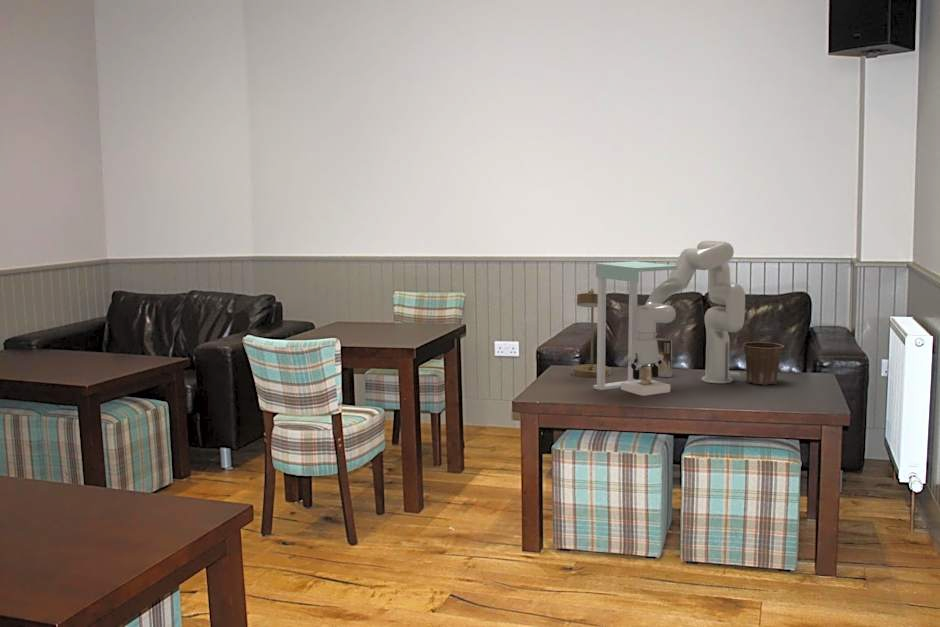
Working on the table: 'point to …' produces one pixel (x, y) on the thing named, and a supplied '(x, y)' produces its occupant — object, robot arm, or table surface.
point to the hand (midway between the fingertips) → (645, 377)
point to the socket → (645, 387)
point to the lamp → (591, 369)
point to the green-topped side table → (631, 274)
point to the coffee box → (666, 351)
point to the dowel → (645, 375)
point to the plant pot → (762, 362)
